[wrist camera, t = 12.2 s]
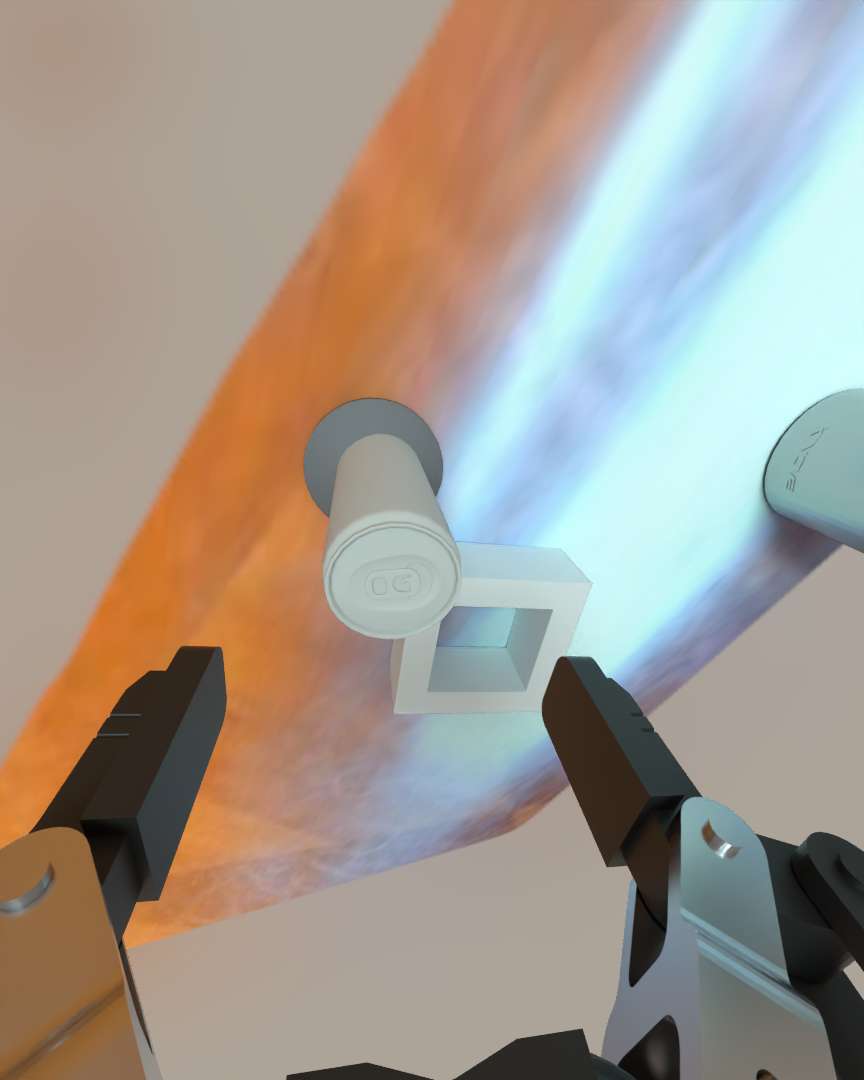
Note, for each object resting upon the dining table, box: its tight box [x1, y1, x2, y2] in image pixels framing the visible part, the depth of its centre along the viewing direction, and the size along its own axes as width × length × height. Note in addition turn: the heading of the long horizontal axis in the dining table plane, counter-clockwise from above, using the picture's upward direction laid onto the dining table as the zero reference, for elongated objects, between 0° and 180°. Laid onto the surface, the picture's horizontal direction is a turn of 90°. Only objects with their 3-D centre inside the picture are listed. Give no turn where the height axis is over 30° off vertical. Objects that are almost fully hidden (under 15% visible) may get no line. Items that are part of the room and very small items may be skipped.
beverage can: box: [323, 434, 462, 639], centre depth 19 cm, size 5×5×12 cm
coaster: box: [304, 398, 443, 518], centre depth 25 cm, size 8×8×1 cm
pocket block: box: [390, 542, 592, 714], centre depth 29 cm, size 11×11×4 cm
